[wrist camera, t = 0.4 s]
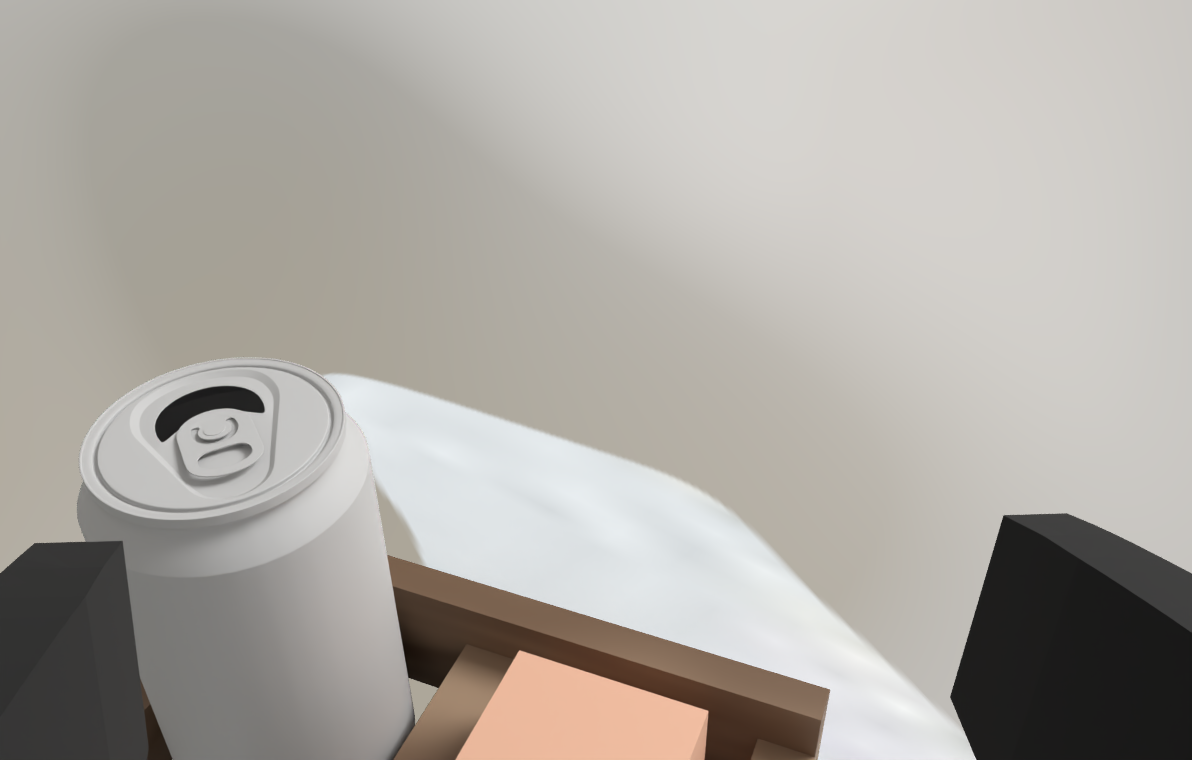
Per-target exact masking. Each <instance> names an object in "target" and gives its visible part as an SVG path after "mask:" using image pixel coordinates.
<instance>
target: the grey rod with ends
mask: <svg viewBox="0 0 1192 760" xmlns="http://www.w3.org/2000/svg"><path fill="white" fill-rule="evenodd" d="M707 723H708V711H707V710H704V709H701V708H697V707H694V706H691V705H688V704H685V703H682V702H679V701H676V700H673V699H669V698H666V697H663V696H660V695H657V694H654V693H651V692H648V691H645V690H641V689H638V688H635V687H632V686H629V685H626V684H623V683H620V682H617V681H613V680H610V679H607V678H604V677H601V676H598V675H595V674H592V673H589V672H585V671H582V670H579V669H576V668H573V667H570V666H567V665H564V664H560V663H557V662H554V661H551V660H548V659H545V658H542V657H539V656H536V655H532V654H529V653H526V652H523V651H520V650H519V652H518V653H517V655H516V657H515V659H514V660H513V662H512V664H511V665H510V667H509V669H508V671H507V672H506V674H505V676H504V677H503V679H502V681H501V683H500V684H499V686H498V688H497V689H496V691H495V693H494V695H493V696H492V698H491V700H490V701H489V703H488V705H487V707H486V708H485V710H484V712H483V713H482V715H481V717H480V719H479V720H478V722H477V724H476V725H475V727H474V729H473V731H472V732H471V734H470V736H469V737H468V739H467V741H466V743H465V744H464V746H463V748H462V749H461V751H460V753H459V755H458V756H457V758H456V760H705V748H706V736H707Z"/></svg>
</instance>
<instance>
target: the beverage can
mask: <svg viewBox="0 0 1192 760" xmlns="http://www.w3.org/2000/svg"><path fill="white" fill-rule="evenodd" d="M79 470H80V474H81V476H82V479H83V483H82V485H81V488H80V492H79V496H78V502H77V518H78V522H79V525H80V528H81V531H82V533H83V536H84V538H85V541H86V542H99V541H123V547H124V555H125V563H126V571H127V579H128V587H129V595H130V603H131V611H132V619H133V627H134V635H135V643H136V651H137V659H138V667H139V675H140V679H141V681H142V684H143V686H144V689H145V691H146V694H147V696H148V699H149V701H150V704H151V706H152V709H153V711H154V714H155V716H156V719H157V721H158V724H159V727H160V729H161V732H162V734H163V737H164V739H165V742H166V744H167V747H168V749H169V752H170V754H171V757H172V759H173V760H393V759H394V758H395V756H396V755H397V753H398V751H399V750H400V748H401V747H402V745H403V744H404V742H405V740H406V739H407V737H408V736H409V734H410V733H411V731H412V729H413V728H414V726H415V715H414V709H413V703H412V697H411V692H410V686H409V680H408V674H407V668H406V662H405V656H404V651H403V645H402V639H401V633H400V627H399V622H398V616H397V610H396V604H395V598H394V593H393V587H392V581H391V575H390V569H389V564H388V558H387V552H386V547H385V541H384V535H383V529H382V523H381V517H380V512H379V506H378V500H377V494H376V488H375V482H374V477H373V471H372V465H371V459H370V453H369V448H368V444H367V441H366V438H365V436H364V433H363V431H362V430H361V428H360V427H359V425H358V424H357V423H356V421H355V420H354V419H353V418H352V417H350V416H349V415H348V414H347V413H346V412H345V409H344V404H343V401H342V399H341V396H340V394H339V393H338V391H337V390H336V388H335V387H334V386H333V385H332V384H331V383H330V382H329V381H328V380H327V379H326V378H324V377H323V376H322V375H320V374H319V373H317V372H315V371H313V370H311V369H309V368H307V367H304V366H301V365H298V364H295V363H292V362H288V361H283V360H278V359H272V358H227V359H219V360H212V361H207V362H202V363H198V364H193V365H190V366H186V367H183V368H180V369H177V370H174V371H171V372H168V373H165V374H163V375H161V376H158V377H156V378H154V379H151V380H149V381H147V382H145V383H143V384H142V385H140V386H138V387H136V388H135V389H133V390H131V391H130V392H128V393H127V394H125V395H124V396H122V397H121V398H120V399H118V400H117V401H116V402H114V403H113V404H112V405H111V406H110V407H109V408H107V409H106V410H105V411H104V412H103V413H102V414H101V415H100V416H99V418H98V419H97V420H96V421H95V423H94V424H93V425H92V427H91V428H90V429H89V431H88V432H87V434H86V436H85V438H84V440H83V442H82V445H81V449H80V453H79Z"/></svg>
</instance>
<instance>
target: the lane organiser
mask: <svg viewBox="0 0 1192 760" xmlns="http://www.w3.org/2000/svg"><path fill="white" fill-rule="evenodd" d="M387 558H388V564H389V569H390V575H391V581H392V587H393V593H394V598H395V604H396V610H397V616H398V622H399V627H400V633H401V639H402V645H403V651H404V656H405V662H406V668H407V674H408V678H411V679H414V680H417V681H420V682H423V683H426V684H429V685H431V686H435V687H437V688H439V689H438V690H437V692H436V693H435V695H434V696H433V698H432V700H431V701H430V703H429V704H428V706H427V707H426V709H425V711H424V712H423V714H422V715H421V717H420V719H419V720H418V722H417V723H416V725H415V726H414V728H413V729H412V731H411V733H410V734H409V736H408V737H407V739H406V740H405V742H404V744H403V745H402V747H401V748H400V750H399V751H398V753H397V755H396V756H395V758H394V759H393V760H456V758H457V756H458V755H459V753H460V751H461V749H462V748H463V746H464V744H465V743H466V741H467V739H468V737H469V736H470V734H471V732H472V731H473V729H474V727H475V725H476V724H477V722H478V720H479V719H480V717H481V715H482V713H483V712H484V710H485V708H486V707H487V705H488V703H489V701H490V700H491V698H492V696H493V695H494V693H495V691H496V689H497V688H498V686H499V684H500V683H501V681H502V679H503V677H504V676H505V674H506V672H507V671H508V669H509V667H510V665H511V664H512V662H513V660H514V659H515V657H516V655H517V653H518V652H519V650H520V651H523V652H526V653H529V654H532V655H536V656H539V657H542V658H545V659H548V660H551V661H554V662H557V663H560V664H564V665H567V666H570V667H573V668H576V669H579V670H582V671H585V672H589V673H592V674H595V675H598V676H601V677H604V678H607V679H610V680H613V681H617V682H620V683H623V684H626V685H629V686H632V687H635V688H638V689H641V690H645V691H648V692H651V693H654V694H657V695H660V696H663V697H666V698H669V699H673V700H676V701H679V702H682V703H685V704H688V705H691V706H694V707H697V708H701V709H704V710H707V711H708V723H707V736H706V748H705V760H817V759H818V754H819V748H820V743H821V737H822V732H823V726H824V721H825V715H826V710H827V704H828V699H829V693H830V690H829V689H826V688H823V687H820V686H816V685H813V684H810V683H806V682H803V681H800V680H797V679H793V678H790V677H787V676H783V675H780V674H777V673H774V672H770V671H767V670H764V669H760V668H757V667H754V666H751V665H747V664H744V663H741V662H737V661H734V660H731V659H727V658H724V657H721V656H718V655H714V654H711V653H708V652H704V651H701V650H698V649H695V648H691V647H688V646H685V645H681V644H678V643H675V642H672V641H668V640H665V639H662V638H658V637H655V636H652V635H649V634H645V633H642V632H639V631H635V630H632V629H629V628H625V627H622V626H619V625H616V624H612V623H609V622H606V621H602V620H599V619H596V618H593V617H589V616H586V615H583V614H579V613H576V612H573V611H570V610H566V609H563V608H560V607H556V606H553V605H550V604H547V603H543V602H540V601H537V600H533V599H530V598H527V597H523V596H520V595H517V594H514V593H510V592H507V591H504V590H500V589H497V588H494V587H491V586H487V585H484V584H481V583H477V582H474V581H471V580H468V579H464V578H461V577H458V576H454V575H451V574H448V573H445V572H441V571H438V570H435V569H431V568H428V567H425V566H422V565H418V564H415V563H412V562H408V561H405V560H402V559H398V558H395V557H392V556H389V555H387ZM140 683H141V691H142V699H143V707H144V715H145V722H146V730H147V738H148V746H149V750H148V756H147V760H172V757H171V754H170V752H169V749H168V747H167V744H166V742H165V739H164V737H163V734H162V732H161V729H160V727H159V724H158V721H157V719H156V716H155V714H154V711H153V709H152V706H151V704H150V701H149V699H148V696H147V694H146V691H145V689H144V686H143V684H142V681H141V679H140Z"/></svg>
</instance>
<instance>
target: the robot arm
mask: <svg viewBox="0 0 1192 760" xmlns="http://www.w3.org/2000/svg"><path fill="white" fill-rule="evenodd" d="M950 698H951V700H952V702H953V705H954V707H955V710H956V712H957V714H958V717H959V719H960V722H961V724H962V727H963V729H964V731H965V734H966V736H967V739H968V741H969V743H970V746H971V748H972V751H973V753H974V755H975V757H976V760H1192V574H1191V573H1190V572H1188V571H1186V570H1184V569H1182V568H1180V567H1178V566H1176V565H1174V564H1172V563H1170V562H1169V561H1167V560H1165V559H1163V558H1161V557H1159V556H1157V555H1155V554H1153V553H1151V552H1149V551H1147V550H1145V549H1143V548H1141V547H1139V546H1137V545H1135V544H1133V543H1131V542H1129V541H1127V540H1125V539H1123V538H1121V537H1119V536H1117V535H1115V534H1113V533H1111V532H1108V531H1106V530H1104V529H1102V528H1100V527H1098V526H1095V525H1093V524H1091V523H1088V522H1086V521H1084V520H1081V519H1079V518H1076V517H1074V516H1072V515H1069V514H1037V515H1036V514H1034V515H1004V516H1003V520H1002V523H1001V526H1000V529H999V533H998V536H997V540H996V543H995V546H994V550H993V553H992V557H991V560H990V563H989V567H988V570H987V574H986V577H985V580H984V584H983V587H982V591H981V594H980V597H979V601H978V605H977V608H976V611H975V615H974V618H973V621H972V625H971V628H970V631H969V635H968V638H967V642H966V645H965V649H964V652H963V656H962V659H961V662H960V666H959V669H958V672H957V676H956V679H955V683H954V686H953V689H952V693H951V696H950ZM148 750H149V746H148V738H147V730H146V722H145V715H144V707H143V699H142V691H141V683H140V675H139V667H138V659H137V651H136V643H135V635H134V627H133V619H132V611H131V603H130V595H129V587H128V579H127V571H126V563H125V555H124V547H123V541H99V542H66V543H34V544H33V545H32V546H31V547H30V548H29V549H27V550H26V551H25V552H24V553H23V554H22V555H20V556H19V557H18V558H17V559H16V560H15V561H14V562H13V563H11V564H10V565H9V566H8V567H7V568H6V569H5V570H4V571H2V572H1V573H0V760H147V756H148Z"/></svg>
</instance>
